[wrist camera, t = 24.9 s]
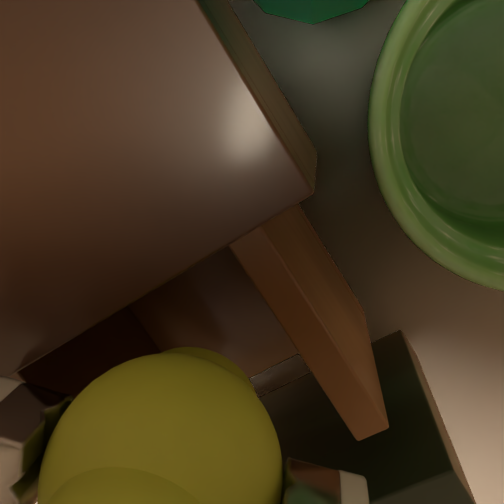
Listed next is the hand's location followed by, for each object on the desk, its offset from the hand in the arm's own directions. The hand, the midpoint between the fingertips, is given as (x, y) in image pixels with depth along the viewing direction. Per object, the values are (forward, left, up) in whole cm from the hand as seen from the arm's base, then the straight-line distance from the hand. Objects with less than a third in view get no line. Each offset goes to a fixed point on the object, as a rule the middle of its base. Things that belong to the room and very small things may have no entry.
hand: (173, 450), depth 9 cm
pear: (0, 0, -2) cm, 2 cm away
